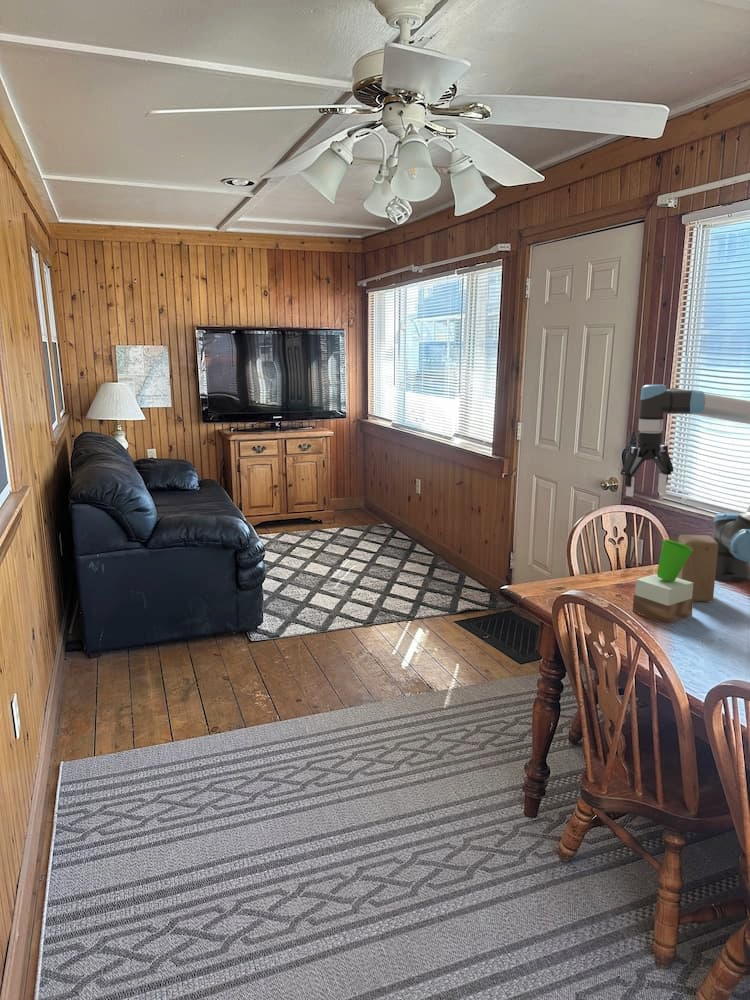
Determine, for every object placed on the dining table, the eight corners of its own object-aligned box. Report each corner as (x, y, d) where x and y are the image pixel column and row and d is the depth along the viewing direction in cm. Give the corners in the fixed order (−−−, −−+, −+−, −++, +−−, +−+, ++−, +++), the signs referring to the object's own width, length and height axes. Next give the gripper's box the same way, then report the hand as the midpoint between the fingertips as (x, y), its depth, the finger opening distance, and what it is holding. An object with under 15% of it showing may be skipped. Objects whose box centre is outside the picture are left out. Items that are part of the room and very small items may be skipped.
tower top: (658, 587, 214) (659, 572, 213) (692, 598, 205) (693, 582, 204) (635, 594, 209) (636, 579, 208) (668, 605, 199) (669, 589, 198)
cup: (685, 587, 201) (698, 552, 199) (656, 579, 201) (669, 544, 199) (673, 577, 210) (686, 544, 208) (645, 570, 210) (657, 536, 208)
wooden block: (713, 603, 217) (719, 542, 212) (680, 601, 219) (685, 541, 214) (705, 592, 226) (710, 534, 222) (673, 591, 228) (678, 533, 224)
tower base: (657, 605, 216) (658, 587, 215) (691, 616, 206) (693, 598, 205) (632, 612, 210) (633, 594, 209) (666, 625, 200) (668, 605, 199)
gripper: (671, 429, 232) (666, 489, 237) (612, 432, 224) (608, 495, 228) (688, 431, 225) (682, 493, 230) (627, 434, 217) (623, 499, 221)
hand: (645, 494), depth 229 cm, fingers open, 13 cm apart
